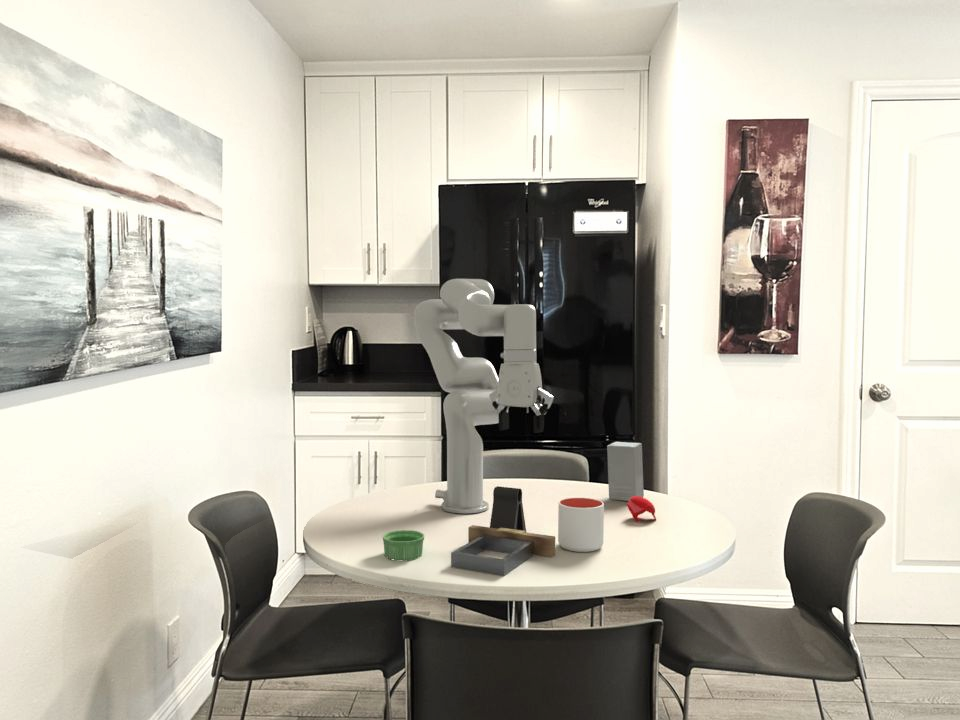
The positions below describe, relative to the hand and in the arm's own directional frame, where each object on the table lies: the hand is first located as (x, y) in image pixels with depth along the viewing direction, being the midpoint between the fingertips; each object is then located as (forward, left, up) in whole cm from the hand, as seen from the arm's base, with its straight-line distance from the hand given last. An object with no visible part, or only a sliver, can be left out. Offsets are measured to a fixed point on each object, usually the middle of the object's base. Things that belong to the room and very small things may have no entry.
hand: (521, 430), depth 184 cm
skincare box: (+12, +46, -25) cm, 54 cm away
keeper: (+3, -21, -25) cm, 32 cm away
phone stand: (-1, -5, -25) cm, 25 cm away
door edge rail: (+3, -12, -25) cm, 27 cm away
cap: (+22, +26, -25) cm, 42 cm away
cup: (+16, -3, -25) cm, 30 cm away
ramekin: (-16, -26, -25) cm, 39 cm away
